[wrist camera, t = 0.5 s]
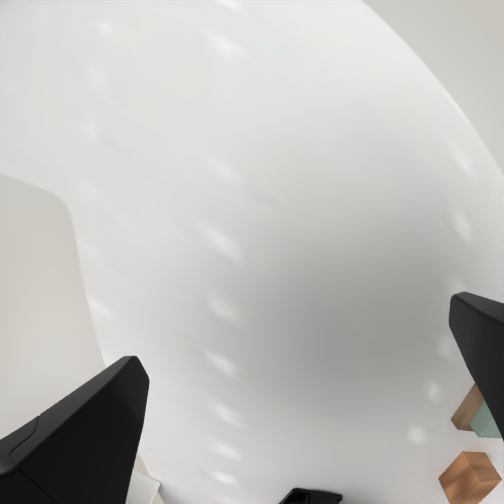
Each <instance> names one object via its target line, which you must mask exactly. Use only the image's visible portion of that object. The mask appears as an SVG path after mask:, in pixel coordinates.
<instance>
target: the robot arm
mask: <svg viewBox="0 0 504 504" xmlns="http://www.w3.org/2000/svg"><path fill="white" fill-rule="evenodd" d="M449 326H450V329H451V331H452V333H453V336H454V338H455V340H456V342H457V345H458V347H459V349H460V351H461V354H462V356H463V358H464V361H465V363H466V365H467V368H468V370H469V372H470V374H471V376H472V377H473V379H474V381H475V383H476V385H477V387H478V389H479V391H480V392H481V394H482V396H483V398H484V400H485V402H486V404H487V406H488V408H489V410H490V412H491V414H492V417H493V419H494V421H495V423H496V425H497V427H498V429H499V432H500V434H501V436H502V438H503V441H504V303H500V302H497V301H494V300H491V299H487V298H484V297H481V296H478V295H474V294H471V293H468V292H460V293H457V294H454V295H453V296H452V297H451V301H450V312H449ZM148 390H149V377H148V375H147V373H146V371H145V369H144V367H143V366H142V364H141V362H140V360H139V358H138V357H136V356H124V357H122V358H121V359H119V360H118V361H116V362H115V363H113V364H112V365H111V366H109V367H108V368H106V369H105V370H104V371H102V372H101V373H99V374H98V375H96V376H95V377H93V378H92V379H91V380H89V381H88V382H86V383H85V384H83V385H82V386H81V387H79V388H78V389H76V390H75V391H73V392H72V393H70V394H69V395H68V396H66V397H65V398H63V399H62V400H60V401H59V402H57V403H56V404H55V405H53V406H52V407H50V408H49V409H47V410H46V411H44V412H43V413H41V414H40V416H37V417H36V418H34V419H33V420H31V421H30V422H28V423H27V424H25V425H24V426H22V427H20V428H19V429H17V430H16V431H14V432H12V433H11V434H9V435H8V436H6V437H4V438H2V439H1V440H0V504H126V499H127V494H128V490H129V485H130V480H131V476H132V471H133V467H134V462H135V458H136V454H137V450H138V445H139V441H140V437H141V433H142V429H143V424H144V417H145V410H146V403H147V396H148ZM342 499H343V498H342V495H335V494H327V493H320V492H314V491H308V490H302V489H293V490H291V492H290V493H289V494H288V495H287V496H286V497H285V498H284V499H283V500H282V501H281V503H280V504H338V503H340V502H341V501H342Z"/></svg>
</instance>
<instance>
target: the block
mask: <svg viewBox="0 0 504 504" xmlns="http://www.w3.org/2000/svg"><path fill="white" fill-rule="evenodd" d="M438 479H439V481H440V483H441V485H442V488H443V490H444V492H445V494H446V496H447V498H448V501H449V503H450V504H478V503H479V502H480V501H481V500H482V499H483V498H485V497H486V496H487V495H488V494H489V493H490V492H491V491H492V490H493V489H494V487H495V486H496V485H497V484H498V483H499V482H500V481H501V480H502V479H501V477H500V476H499V474H498V472H497V471H496V469H495V468H494V466H493V465H492V463H491V462H490V460H489V459H488V457H487V456H486V454H485V453H484V452H461V454H460V455H459V456H458V457H457V458H456V459H455V461H454V462H453V463H452V464H451V465H450V466H449V467H448V468H447V469H446V471H445V472H444V473H443V474H442V475H441V476H440V477H439V478H438Z"/></svg>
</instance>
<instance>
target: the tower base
mask: <svg viewBox="0 0 504 504" xmlns="http://www.w3.org/2000/svg"><path fill="white" fill-rule="evenodd" d="M483 402H484V398H483V396H482V394H481V392H480V391H479V389H478V387H477V385H476V383H475V384H474V385H473V387H472V389H471V390H470V392H469V393H468V395H467V396H466V398H465V399H464V401H463V402H462V404H461V405H460V407H459V408H458V409H457V411H456V412H455V414H454V415H453V417H452V418H451V421H452V422H453V423H454V425H455V426H456V428H457V429H458V430H467V431H474V430H473V429H472V427H471V426H470V424H469V422H470V420H471V419H472V417H473V416H474V415H475V413H476V412H477V410H478V409H479V408H480V406H481V405H482V403H483Z"/></svg>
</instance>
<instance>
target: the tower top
mask: <svg viewBox="0 0 504 504" xmlns="http://www.w3.org/2000/svg"><path fill="white" fill-rule="evenodd" d="M469 424H470V426H471V427H472V429H473V430H474V431H475V433H476V434H477V436H478V437H488V438H502V436H501V434H500V432H499V429H498V427H497V425H496V423H495V421H494V419H493V417H492V414H491V412H490V410H489V408H488V406H487V404H486V402H485V400H484V402H483V403H482V405H481V406H480V408H479V409H478V410H477V412H476V413H475V415H474V416H473V417H472V419H471V420H470V422H469Z"/></svg>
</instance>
